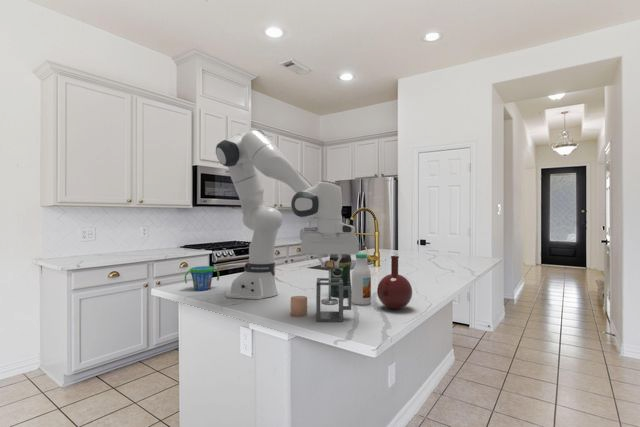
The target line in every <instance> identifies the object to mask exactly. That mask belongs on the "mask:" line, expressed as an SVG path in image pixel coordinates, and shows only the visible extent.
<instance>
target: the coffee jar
mask: <svg viewBox="0 0 640 427" xmlns="http://www.w3.org/2000/svg"><path fill="white" fill-rule="evenodd" d="M329 260H332V261H334V262H337V260H338V254H329ZM334 265H335V264H334ZM351 266H352V256H351V254H342V258H341V260H340V261H339V267H334V268H333V269H331V278H342V280H343V286H351V287H352V279H351ZM331 282H338V283H339V281H331ZM351 295H352V289H351ZM331 297H337V298H339V285H331ZM346 297H347V298H348V290H343V298H346Z"/></svg>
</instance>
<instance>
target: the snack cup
mask: <svg viewBox="0 0 640 427" xmlns="http://www.w3.org/2000/svg"><path fill="white" fill-rule="evenodd" d="M214 271H216V274H217V275H216V276H217V277H216V281H219V279H220V272H219V270H218V269H217V268H215V267H214V266H211V265H204V266H203V265H202V266H194V267H191V268H190V269H189V270H187V271H186V272H185V274H184V282H185V284H187V275H188V274H189V273H190V274H191V279H192V284H193V290H195V291H207V289H208V290H210V289H209V288H212V281H213V274H214Z"/></svg>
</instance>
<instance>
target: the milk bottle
mask: <svg viewBox="0 0 640 427" xmlns="http://www.w3.org/2000/svg"><path fill="white" fill-rule="evenodd" d="M355 260H356V262H355V265H354V267H353V269H352V272H351V290H352V294H351V304H353V305H357V306H368V305H370V304H371V302H372V300H371V299H372V274H371V271H370V270H371V269H370V267H369V266H368V261H367V260H368V254H367V253H365V252H364V253H362V252H361V253H359V252H358V254H355Z"/></svg>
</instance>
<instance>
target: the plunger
mask: <svg viewBox="0 0 640 427" xmlns="http://www.w3.org/2000/svg"><path fill="white" fill-rule="evenodd" d="M324 262H325V267H324V268H325V269H327V270H328V278H329V281H328V282H331V269H333V268H334V261H332V260H330V259H328V260H325V261H324ZM320 305H324V306H336V305H339V299H336V298H332V296H331V285H328V298H323V299H320Z"/></svg>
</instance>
